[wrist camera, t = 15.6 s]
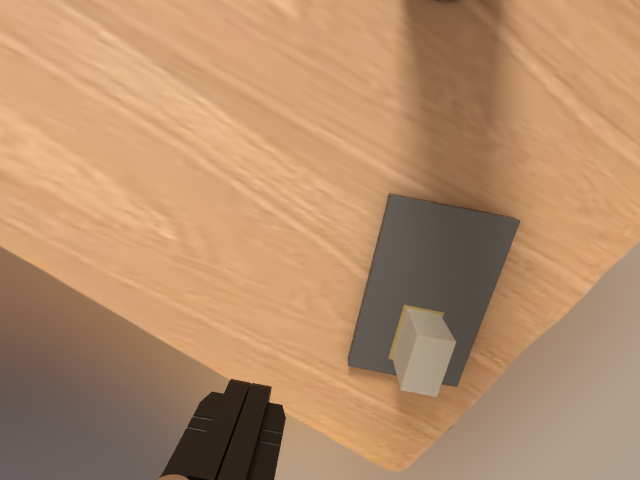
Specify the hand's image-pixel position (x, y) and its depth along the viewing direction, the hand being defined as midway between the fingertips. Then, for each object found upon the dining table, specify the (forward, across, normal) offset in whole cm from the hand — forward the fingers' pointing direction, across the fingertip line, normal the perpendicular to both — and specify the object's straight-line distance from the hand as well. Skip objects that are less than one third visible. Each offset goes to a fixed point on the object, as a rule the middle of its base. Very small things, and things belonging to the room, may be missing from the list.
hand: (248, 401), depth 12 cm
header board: (+27, -15, +6) cm, 31 cm away
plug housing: (+25, -15, +11) cm, 31 cm away
